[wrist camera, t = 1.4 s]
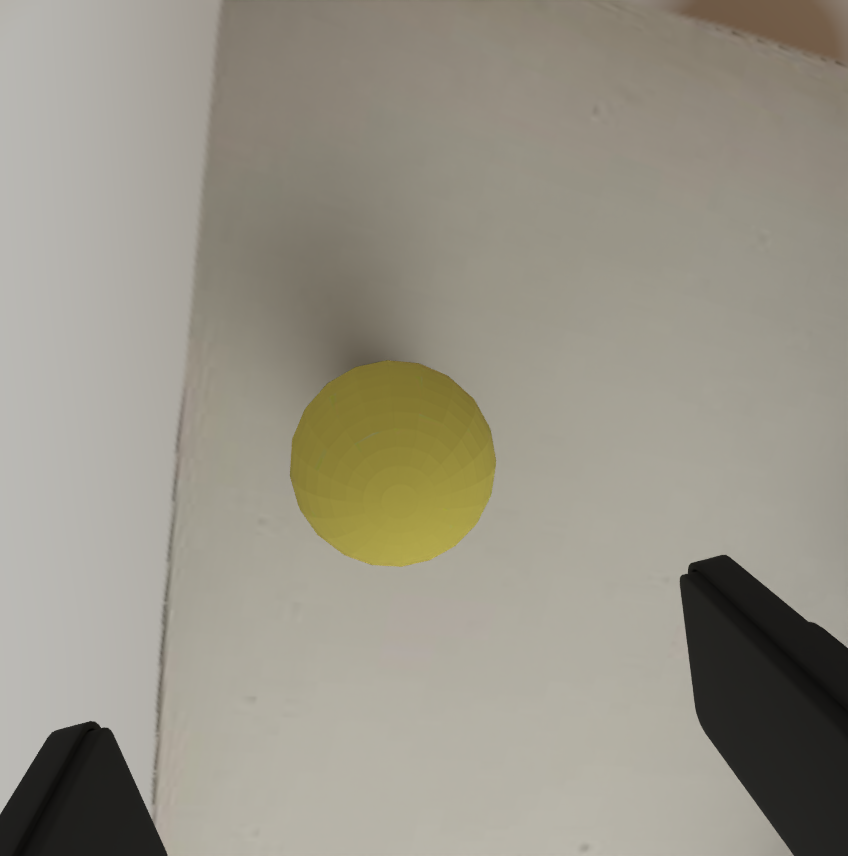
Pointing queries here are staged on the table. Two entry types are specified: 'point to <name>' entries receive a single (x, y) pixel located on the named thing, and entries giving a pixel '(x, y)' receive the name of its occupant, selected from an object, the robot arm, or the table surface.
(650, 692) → the table surface
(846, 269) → the table surface
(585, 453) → the table surface
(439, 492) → the light bulb
